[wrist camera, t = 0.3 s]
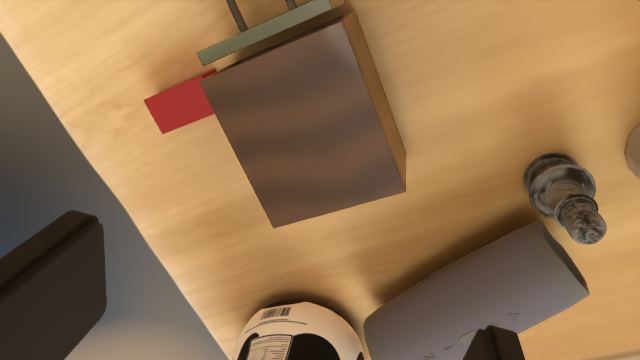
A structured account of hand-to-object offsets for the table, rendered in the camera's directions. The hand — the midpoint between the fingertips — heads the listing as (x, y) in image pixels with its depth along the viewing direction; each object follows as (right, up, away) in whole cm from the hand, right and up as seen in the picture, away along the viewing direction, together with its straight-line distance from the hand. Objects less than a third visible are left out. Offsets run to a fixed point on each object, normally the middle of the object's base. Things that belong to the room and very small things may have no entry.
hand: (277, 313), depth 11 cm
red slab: (-13, +12, +38) cm, 42 cm away
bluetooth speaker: (+18, -8, +42) cm, 46 cm away
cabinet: (+1, +11, +36) cm, 37 cm away
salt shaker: (+25, +4, +35) cm, 43 cm away
